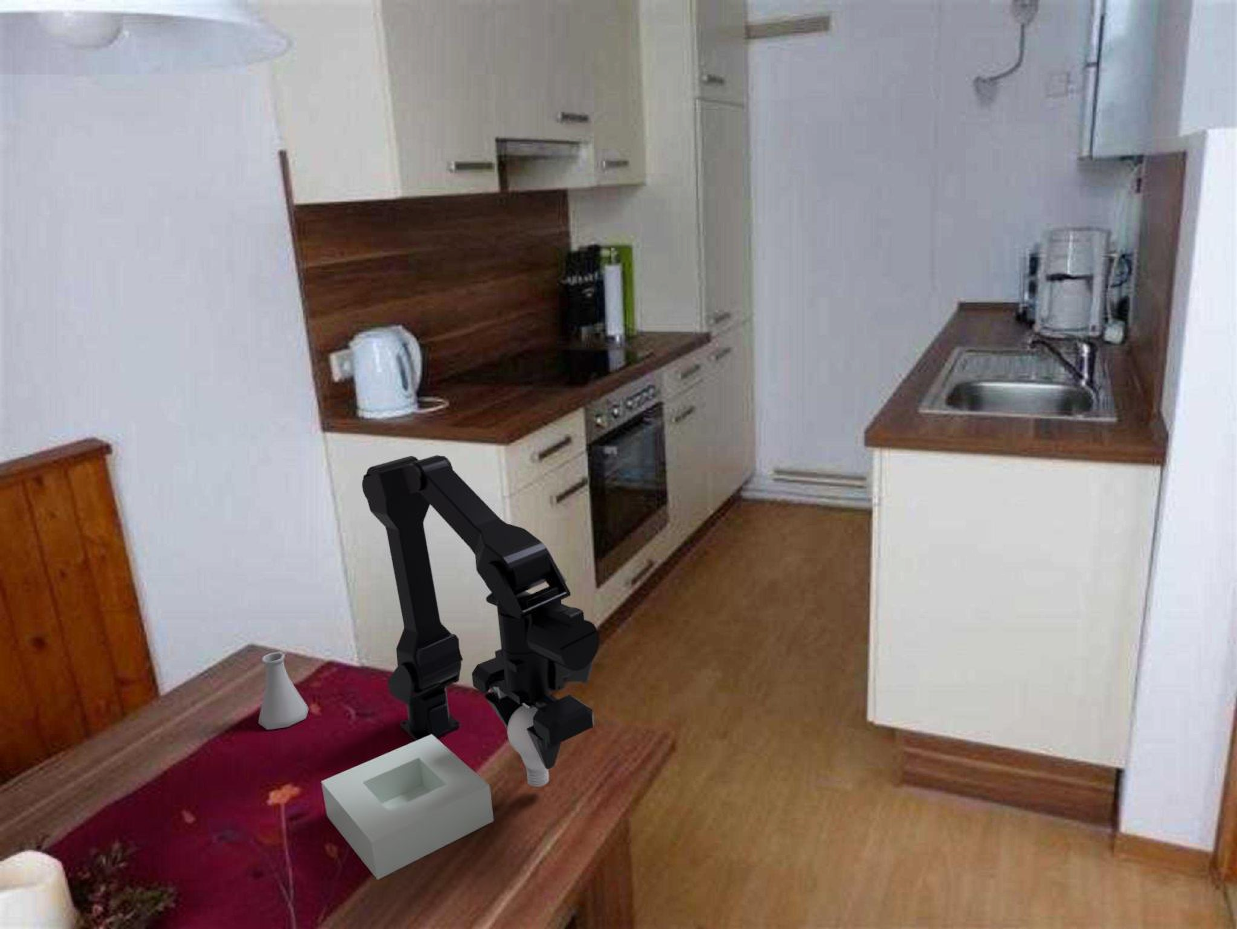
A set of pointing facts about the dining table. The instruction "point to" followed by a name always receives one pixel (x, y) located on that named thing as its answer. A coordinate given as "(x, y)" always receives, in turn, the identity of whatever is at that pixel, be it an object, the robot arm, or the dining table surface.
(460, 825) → the socket block
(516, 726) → the lightbulb
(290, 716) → the flask
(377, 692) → the dining table surface
